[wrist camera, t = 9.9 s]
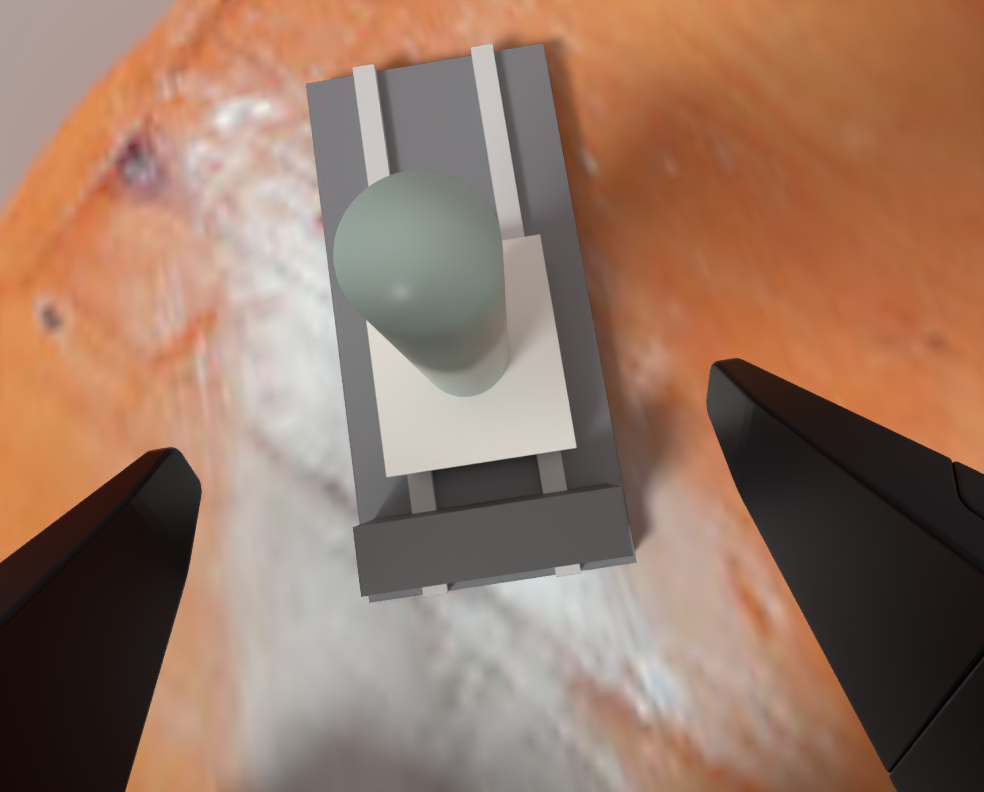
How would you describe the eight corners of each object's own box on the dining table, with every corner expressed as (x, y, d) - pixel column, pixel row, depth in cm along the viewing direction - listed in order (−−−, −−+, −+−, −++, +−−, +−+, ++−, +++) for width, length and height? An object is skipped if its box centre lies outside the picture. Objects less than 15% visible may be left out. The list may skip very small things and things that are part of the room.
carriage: (572, 448, 19) (638, 433, 9) (394, 476, 19) (260, 492, 9) (538, 248, 20) (562, 27, 10) (368, 275, 20) (218, 86, 10)
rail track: (630, 557, 20) (655, 577, 16) (376, 595, 20) (347, 623, 16) (541, 62, 22) (547, -14, 18) (315, 100, 22) (278, 33, 19)
